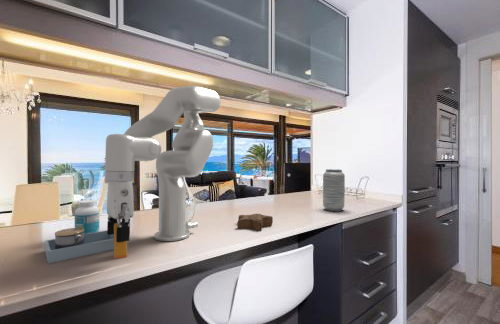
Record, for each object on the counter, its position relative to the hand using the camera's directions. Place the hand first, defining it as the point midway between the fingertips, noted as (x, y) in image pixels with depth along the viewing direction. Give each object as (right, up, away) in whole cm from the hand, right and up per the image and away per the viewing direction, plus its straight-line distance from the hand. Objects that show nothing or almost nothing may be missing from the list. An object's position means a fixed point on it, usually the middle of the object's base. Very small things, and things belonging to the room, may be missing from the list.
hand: (117, 237), depth 72 cm
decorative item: (+39, -6, +36) cm, 53 cm away
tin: (-16, -5, +3) cm, 17 cm away
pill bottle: (-20, -6, +17) cm, 27 cm away
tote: (-14, -6, +6) cm, 16 cm away
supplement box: (0, -6, +1) cm, 6 cm away
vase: (+85, -6, +71) cm, 111 cm away
